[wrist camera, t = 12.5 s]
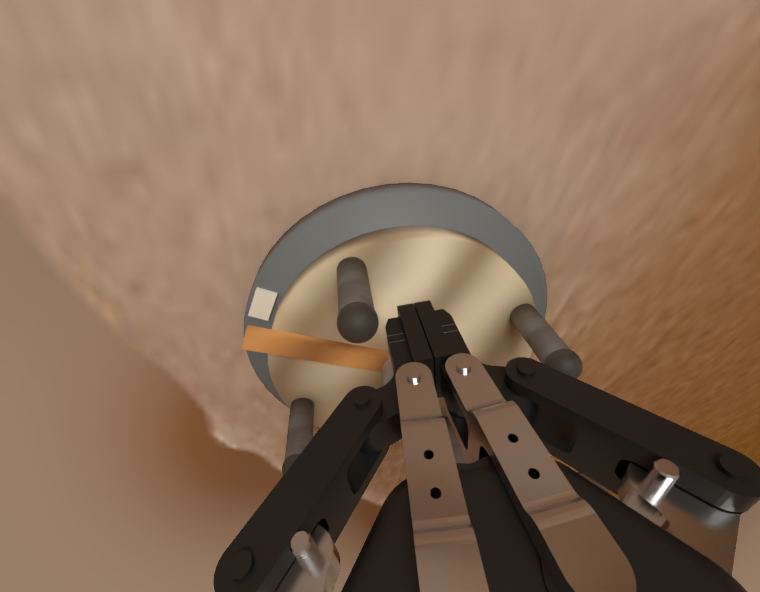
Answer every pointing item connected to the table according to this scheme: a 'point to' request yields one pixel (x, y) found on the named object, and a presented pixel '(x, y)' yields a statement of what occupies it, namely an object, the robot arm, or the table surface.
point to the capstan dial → (379, 303)
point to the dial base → (375, 213)
